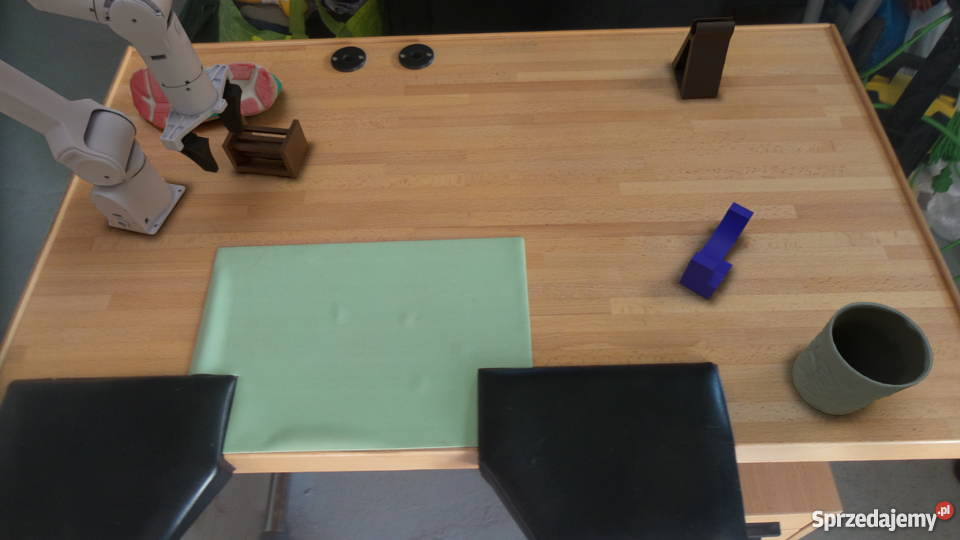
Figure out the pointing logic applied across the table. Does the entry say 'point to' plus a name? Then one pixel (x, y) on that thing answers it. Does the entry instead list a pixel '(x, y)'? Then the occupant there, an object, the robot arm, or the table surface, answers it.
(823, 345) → the grey plant pot
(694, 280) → the blue angled block
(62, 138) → the robot arm
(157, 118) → the athletic shoe
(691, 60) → the phone stand
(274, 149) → the shoe rack
